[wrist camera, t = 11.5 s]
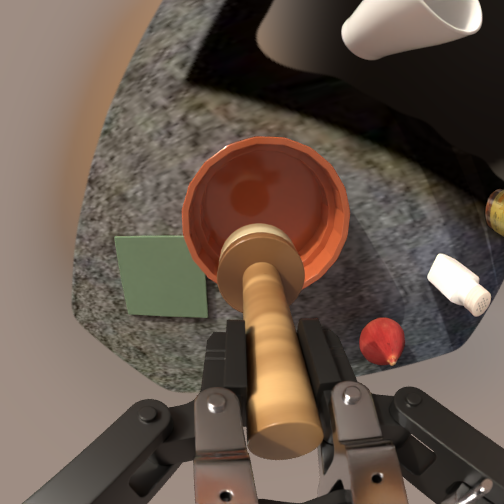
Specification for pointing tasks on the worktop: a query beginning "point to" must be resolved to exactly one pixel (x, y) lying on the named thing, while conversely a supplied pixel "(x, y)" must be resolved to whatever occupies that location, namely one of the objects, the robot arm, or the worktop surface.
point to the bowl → (267, 202)
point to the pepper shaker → (459, 284)
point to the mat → (161, 277)
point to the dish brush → (271, 341)
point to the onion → (382, 341)
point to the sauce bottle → (496, 211)
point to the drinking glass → (408, 25)
